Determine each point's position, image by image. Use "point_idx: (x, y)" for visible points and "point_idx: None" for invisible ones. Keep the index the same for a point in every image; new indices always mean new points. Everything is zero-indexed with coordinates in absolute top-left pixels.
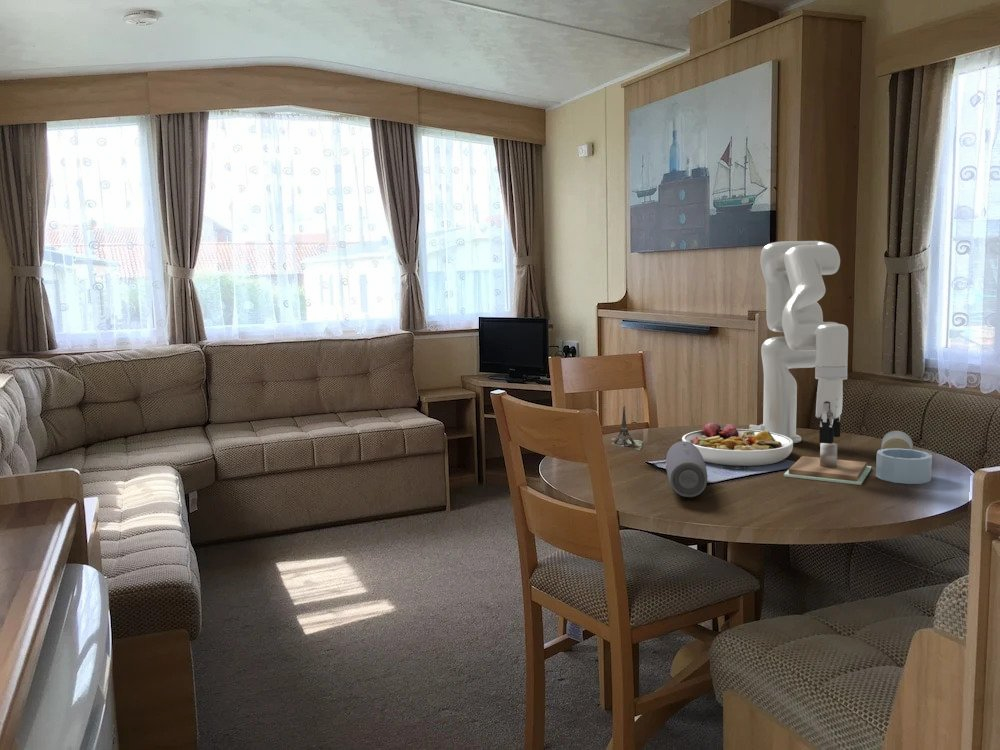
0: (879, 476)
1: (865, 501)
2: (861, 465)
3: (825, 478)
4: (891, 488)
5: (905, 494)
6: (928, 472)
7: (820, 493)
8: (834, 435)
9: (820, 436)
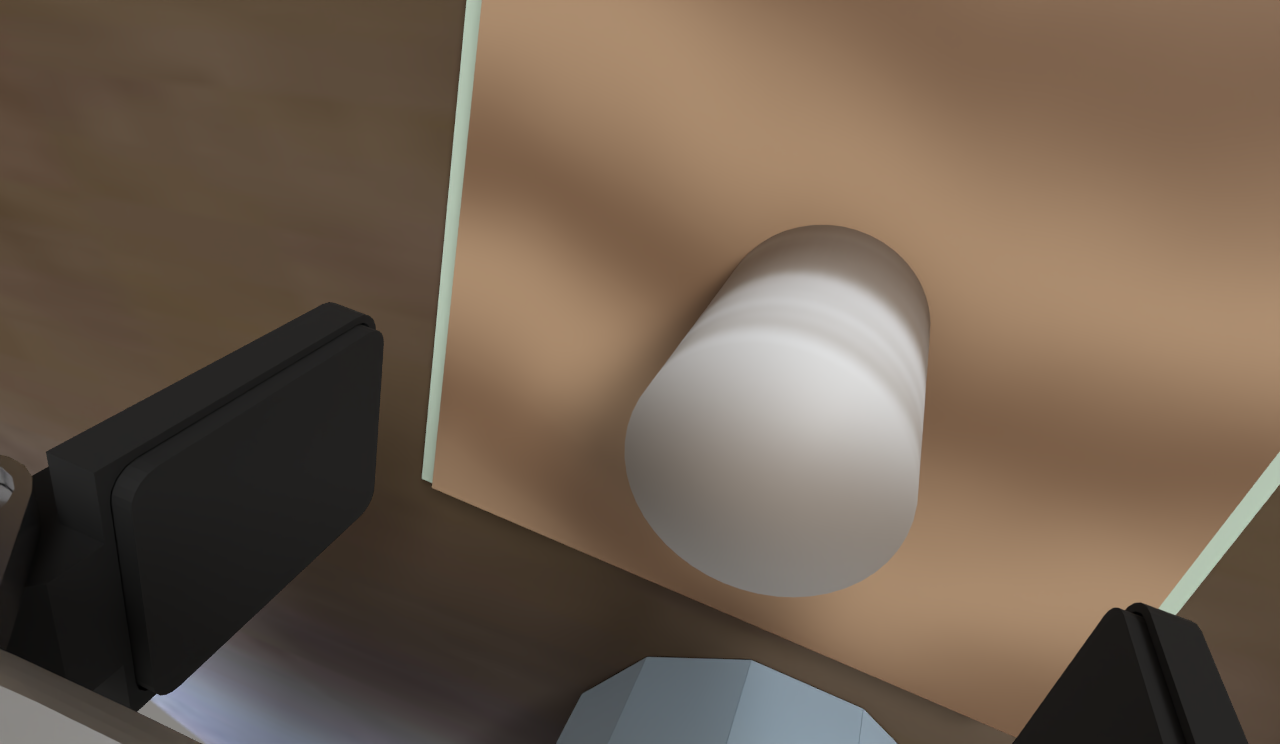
0: (674, 669)
1: (76, 385)
2: (875, 654)
3: (457, 216)
4: (422, 624)
5: (319, 642)
6: None
7: (87, 112)
8: (1039, 724)
9: (247, 361)
